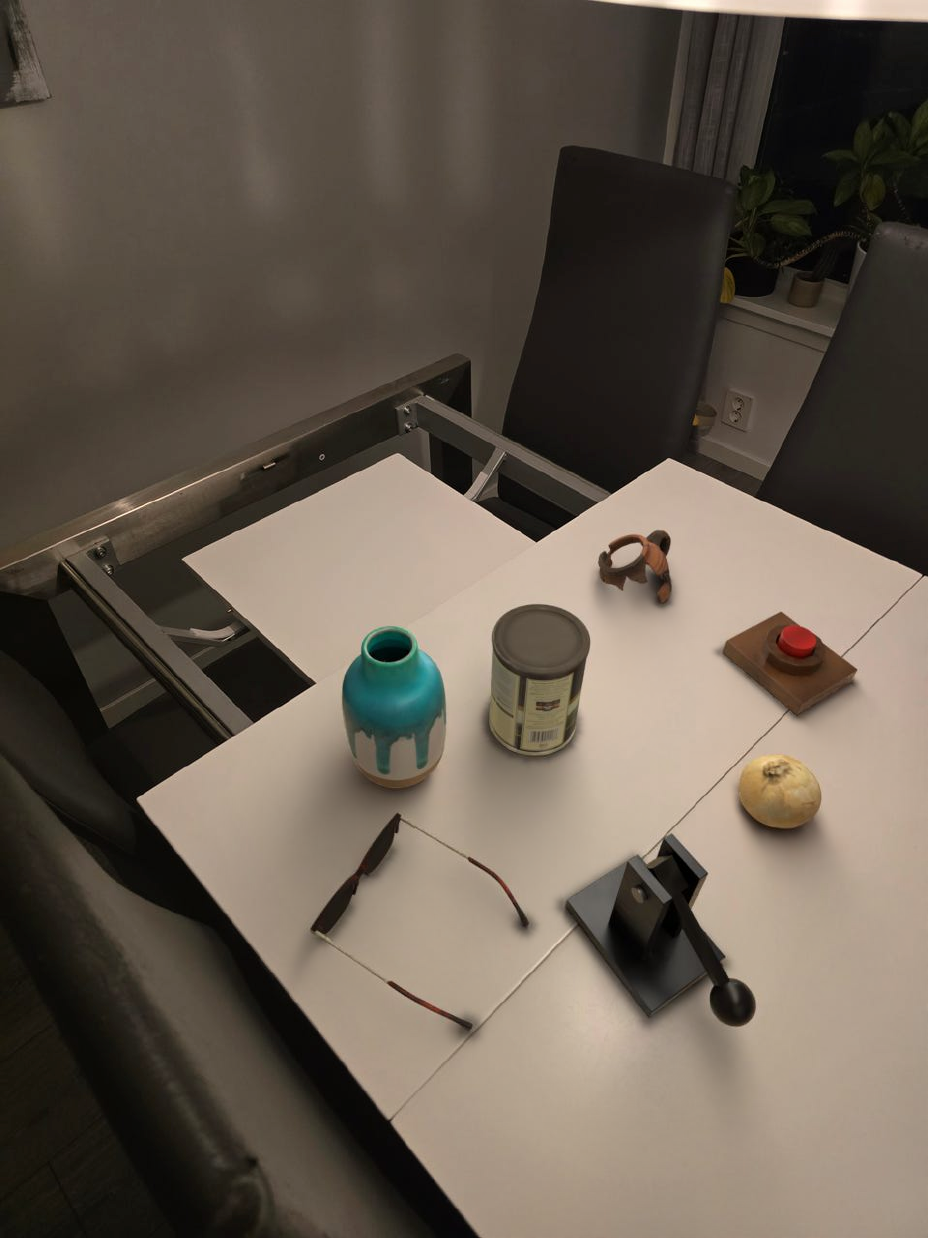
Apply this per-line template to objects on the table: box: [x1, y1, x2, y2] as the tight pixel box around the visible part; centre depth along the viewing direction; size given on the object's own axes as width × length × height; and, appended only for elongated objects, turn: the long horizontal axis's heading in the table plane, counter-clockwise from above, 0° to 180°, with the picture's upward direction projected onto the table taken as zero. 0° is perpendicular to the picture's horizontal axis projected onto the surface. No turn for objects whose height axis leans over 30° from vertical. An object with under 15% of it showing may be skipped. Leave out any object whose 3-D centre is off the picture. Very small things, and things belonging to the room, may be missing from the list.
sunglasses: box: [309, 812, 530, 1030], centre depth 72 cm, size 14×16×5 cm
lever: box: [645, 855, 757, 1028], centre depth 65 cm, size 14×4×4 cm, turn 32°
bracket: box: [565, 833, 726, 1018], centre depth 69 cm, size 12×9×13 cm
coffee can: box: [488, 603, 591, 757], centre depth 87 cm, size 10×10×14 cm
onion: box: [738, 754, 822, 830], centre depth 81 cm, size 8×8×7 cm
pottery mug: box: [597, 529, 673, 604], centre depth 108 cm, size 12×10×8 cm
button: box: [778, 625, 816, 659], centre depth 95 cm, size 4×4×2 cm
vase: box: [341, 625, 448, 789], centre depth 80 cm, size 11×11×19 cm
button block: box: [722, 611, 859, 716], centre depth 97 cm, size 12×10×4 cm
